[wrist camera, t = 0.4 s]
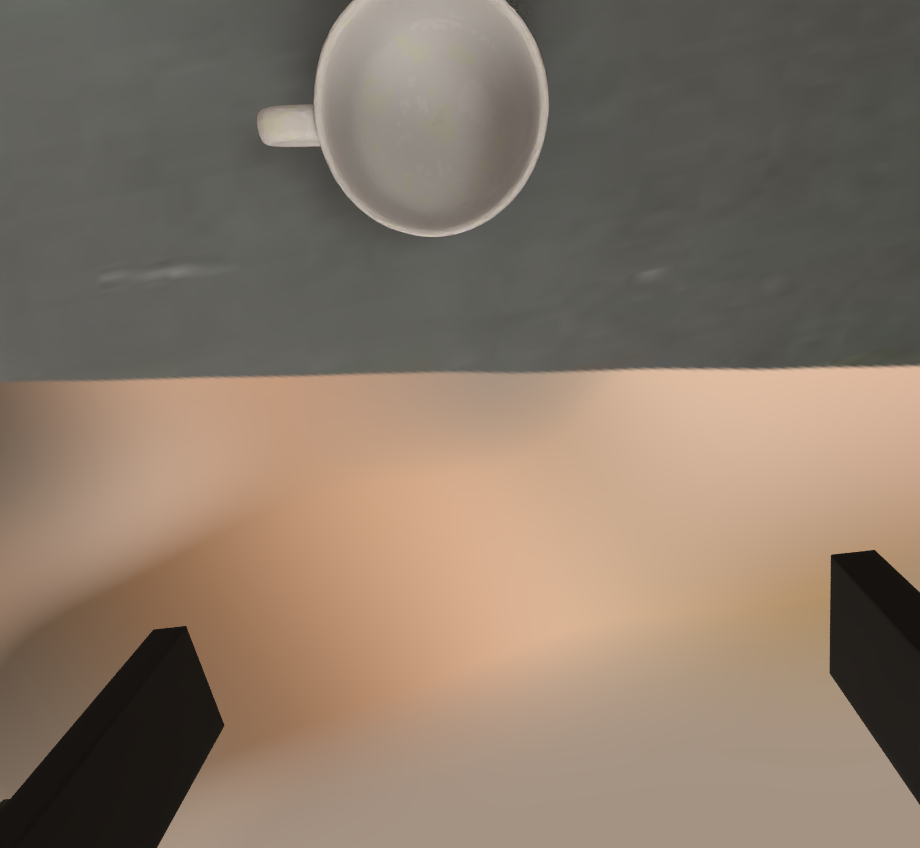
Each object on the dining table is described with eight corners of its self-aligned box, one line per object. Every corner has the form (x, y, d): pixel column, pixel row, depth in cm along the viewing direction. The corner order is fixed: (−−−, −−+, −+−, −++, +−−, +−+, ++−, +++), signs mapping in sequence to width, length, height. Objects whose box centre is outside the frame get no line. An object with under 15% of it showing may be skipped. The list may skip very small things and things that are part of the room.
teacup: (557, 35, 33) (570, -17, 25) (523, 243, 37) (526, 252, 29) (303, 1, 33) (242, -59, 26) (294, 210, 37) (239, 211, 30)
